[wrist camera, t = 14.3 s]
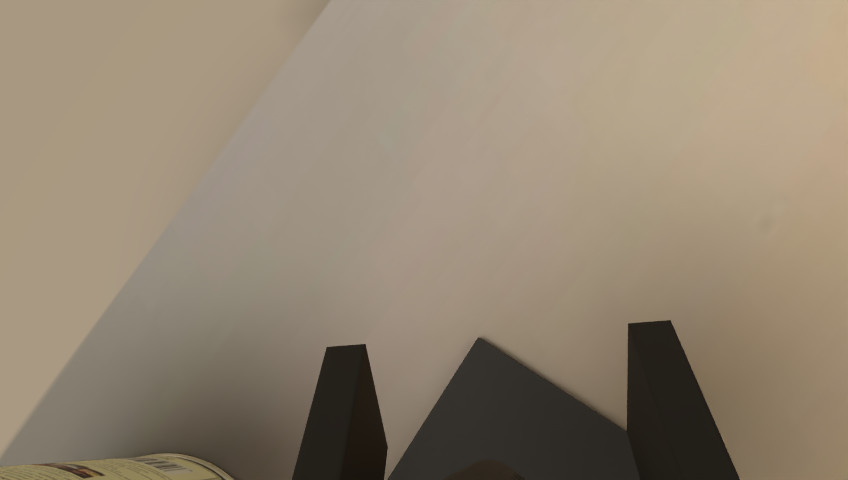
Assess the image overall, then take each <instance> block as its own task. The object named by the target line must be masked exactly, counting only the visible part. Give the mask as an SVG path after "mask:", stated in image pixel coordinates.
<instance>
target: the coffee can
mask: <svg viewBox="0 0 848 480" xmlns="http://www.w3.org/2000/svg"><path fill="white" fill-rule="evenodd" d="M0 480H234V479H233V478H232V477H230V476H229V475H228V474H227V473H225V472H224V471H223V470H221V469H220V468H218V467H216V466H215V465H214V464H213V463H209V462H207V461H204V460H202V459H199V458H195V457H192V456H187V455H183V454H172V453H161V454H152V455H145V456H140V457H132V458H115V459H103V460H89V461H75V462H63V463H50V464H33V465H17V466H6V467H0Z"/></svg>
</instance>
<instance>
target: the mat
mask: <svg viewBox="0 0 848 480" xmlns="http://www.w3.org/2000/svg"><path fill="white" fill-rule="evenodd" d="M483 459H489V460H497V461H499V462H501V463H503V464H505V465H507V466H508V467H510V468H511V469H513V470H514V471H515V472H517V473H518V474H519V475H521V476H522V477H524V478H525V479H526V480H640V477H639V473H638V470H637V466H636V462H635V459H634V455H633V452H632V448H631V445H630V441H629V437H628V434H627V431H625V430H624V429H622V428H620V427H619V426H617V425H616V424H614V423H613V422H611V421H609V420H608V419H606V418H605V417H603V416H602V415H600V414H598V413H597V412H595V411H594V410H592V409H591V408H589V407H587V406H586V405H584V404H583V403H581V402H580V401H578V400H576V399H575V398H573V397H572V396H570V395H569V394H567V393H565V392H564V391H562V390H561V389H559V388H558V387H556V386H554V385H553V384H551V383H550V382H548V381H547V380H545V379H543V378H542V377H540V376H539V375H537V374H536V373H534V372H532V371H531V370H529V369H528V368H526V367H525V366H523V365H522V364H520V363H518V362H517V361H515V360H514V359H512V358H511V357H509V356H507V355H506V354H504V353H503V352H501V351H500V350H498V349H496V348H495V347H493V346H492V345H490V344H489V343H487V342H485V341H484V340H482V339H481V338H477V340H476V342H475V343H474V345H473V346H472V348H471V349H470V351H469V353H468V354H467V356H466V357H465V359H464V360H463V362H462V364H461V365H460V367H459V368H458V370H457V372H456V373H455V375H454V376H453V378H452V379H451V381H450V383H449V384H448V386H447V387H446V389H445V390H444V392H443V394H442V395H441V397H440V398H439V400H438V401H437V403H436V405H435V406H434V408H433V409H432V411H431V412H430V414H429V416H428V417H427V419H426V420H425V422H424V423H423V425H422V427H421V428H420V430H419V431H418V433H417V434H416V436H415V438H414V439H413V441H412V442H411V444H410V445H409V447H408V449H407V450H406V452H405V453H404V455H403V457H402V458H401V460H400V461H399V463H398V464H397V466H396V468H395V469H394V471H393V472H392V474H391V475H390V477H389V479H388V480H442V479H444V478H446V477H448V476H450V475H452V474H454V473H455V472H457V471H459V470H461V469H463V468H465V467H467V466H469V465H470V464H472V463H474V462H477V461H480V460H483Z"/></svg>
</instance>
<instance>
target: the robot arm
mask: <svg viewBox="0 0 848 480" xmlns="http://www.w3.org/2000/svg"><path fill="white" fill-rule="evenodd" d="M627 434H628V437H629V441H630V445H631V448H632V452H633V455H634V459H635V462H636V466H637V470H638V473H639V477H640V480H740V479H739V476H738V474H737V472H736V470H735V467H734V465H733V463H732V460H731V458H730V456H729V453H728V451H727V449H726V447H725V444H724V442H723V440H722V437H721V435H720V433H719V430H718V428H717V426H716V424H715V421H714V419H713V417H712V414H711V412H710V410H709V408H708V405H707V403H706V401H705V398H704V396H703V394H702V391H701V389H700V387H699V385H698V382H697V380H696V378H695V375H694V373H693V371H692V369H691V366H690V364H689V362H688V359H687V357H686V355H685V352H684V350H683V348H682V346H681V343H680V341H679V339H678V336H677V334H676V332H675V330H674V327H673V325H672V323H671V320H668V321H655V322H642V323H629V324H628V391H627ZM387 449H388V446H387V442H386V437H385V432H384V428H383V423H382V419H381V414H380V409H379V405H378V400H377V395H376V391H375V386H374V381H373V377H372V372H371V367H370V363H369V358H368V354H367V349H366V344H360V345H348V346H335V347H327V348H326V352H325V356H324V360H323V364H322V367H321V371H320V375H319V379H318V383H317V386H316V390H315V394H314V398H313V401H312V405H311V409H310V413H309V417H308V420H307V424H306V428H305V432H304V436H303V439H302V443H301V447H300V451H299V455H298V458H297V462H296V466H295V470H294V474H293V477H292V480H384V474H385V465H386V457H387Z"/></svg>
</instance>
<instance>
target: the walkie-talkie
mask: <svg viewBox="0 0 848 480" xmlns="http://www.w3.org/2000/svg"><path fill="white" fill-rule="evenodd" d="M442 480H526V479H525V478H524V477H522V476H521V475H519V474H518V473H517V472H515V471H514V470H513V469H511V468H510V467H508V466H507V465H505V464H503V463H501V462H499V461H497V460H489V459H483V460H480V461H477V462H474V463H472V464H470V465H469V466H467V467H465V468H463V469H461V470H459V471H457V472H455V473H454V474H452V475H450V476H448V477H446V478H444V479H442Z"/></svg>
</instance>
